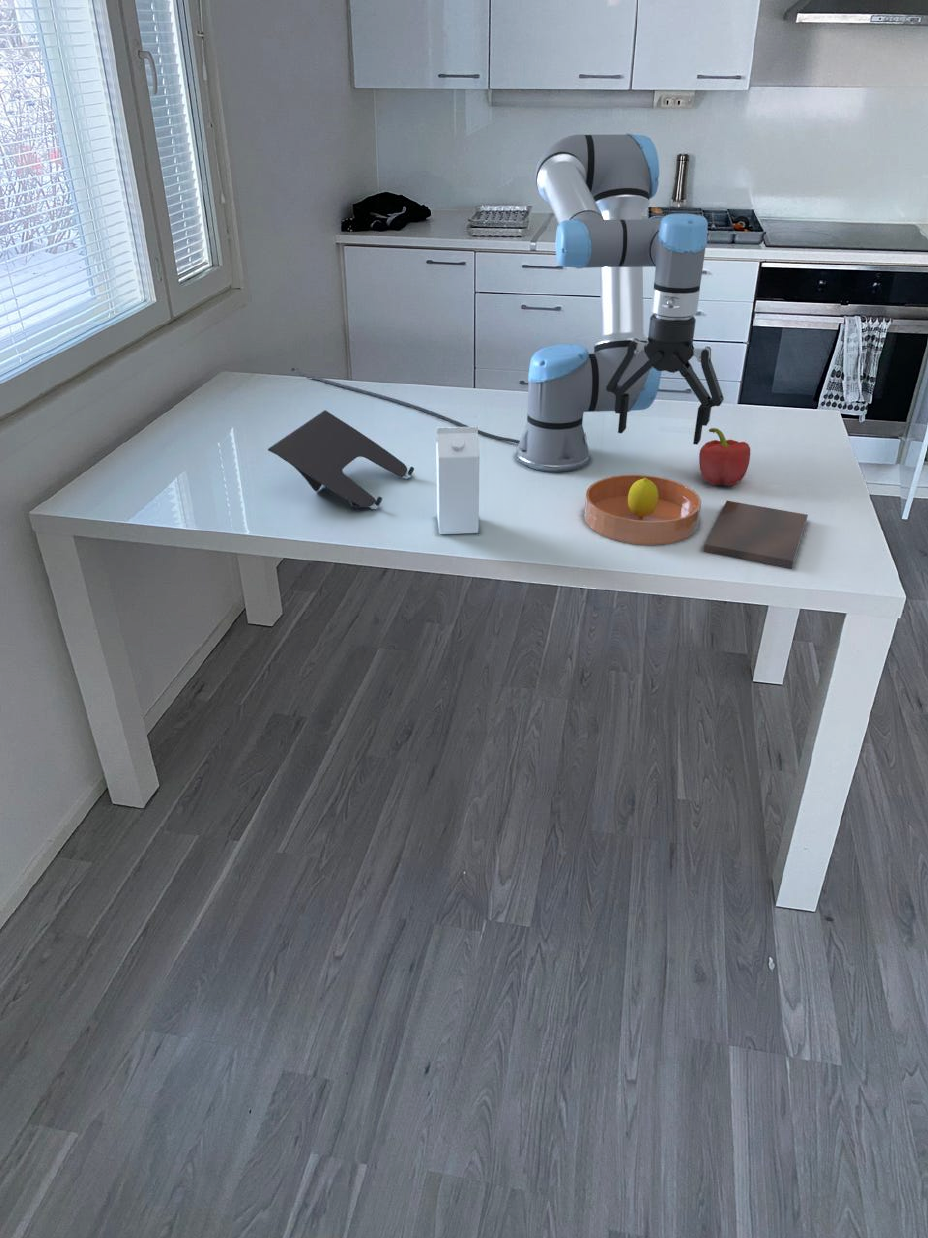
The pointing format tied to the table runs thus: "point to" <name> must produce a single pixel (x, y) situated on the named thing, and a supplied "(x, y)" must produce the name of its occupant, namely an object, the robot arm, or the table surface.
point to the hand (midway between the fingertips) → (658, 436)
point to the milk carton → (457, 480)
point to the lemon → (643, 497)
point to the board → (757, 534)
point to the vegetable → (724, 460)
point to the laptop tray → (335, 457)
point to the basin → (660, 527)
